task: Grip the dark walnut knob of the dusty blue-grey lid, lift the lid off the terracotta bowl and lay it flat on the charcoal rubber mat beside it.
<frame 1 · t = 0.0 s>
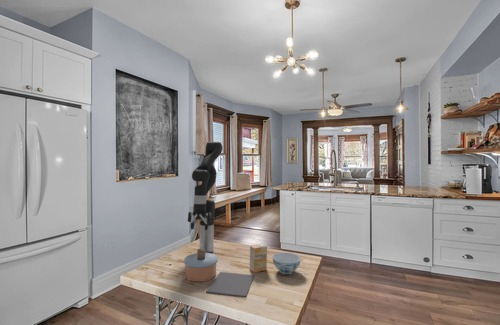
hand: (199, 229, 147), 17 cm above the table, tool pointing down, fingers open, 8 cm apart
chinaware: (286, 272, 129), on the table
lid: (201, 260, 124), point 7 cm above the table, touching bowl
mat: (231, 283, 115), on the table
supplement box: (258, 270, 131), on the table
bowl: (200, 274, 124), on the table
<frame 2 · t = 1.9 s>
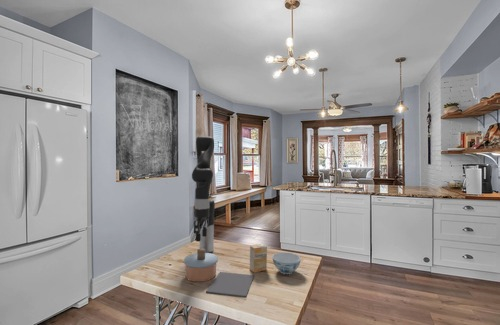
hand: (201, 238, 124), 18 cm above the table, tool pointing down, fingers open, 8 cm apart
nothing on the table moved.
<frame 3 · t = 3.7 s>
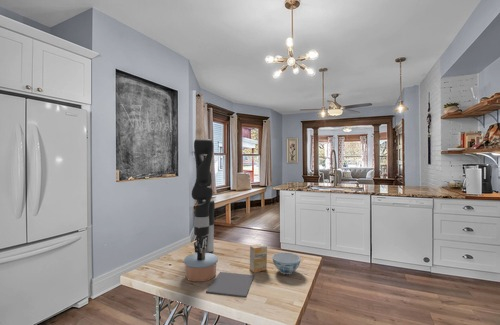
hand: (201, 258, 124), 8 cm above the table, tool pointing down, fingers closed on lid, 4 cm apart
lid: (201, 260, 124), point 7 cm above the table, touching bowl, gripper
everything else where it was.
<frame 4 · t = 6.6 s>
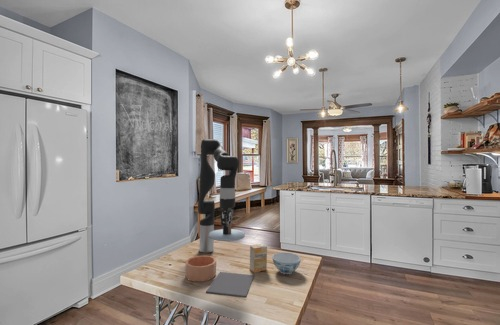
hand: (227, 232, 116), 24 cm above the table, tool pointing down, fingers closed on lid, 4 cm apart
lid: (227, 235, 116), point 23 cm above the table, touching gripper
everything else where it was.
when the fingers open (3 cm above the table, at t = 9.5 s): lid drops 1 cm, resting on mat.
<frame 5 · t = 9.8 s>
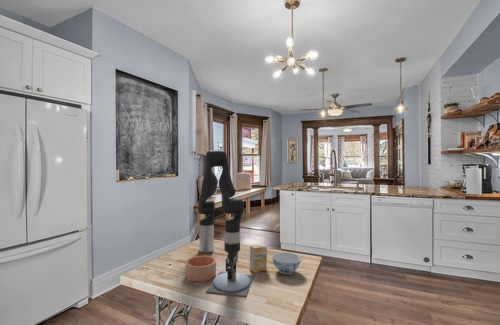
hand: (231, 275, 115), 4 cm above the table, tool pointing down, fingers open, 6 cm apart
lid: (231, 282, 115), point 1 cm above the table, touching mat
everything else where it was.
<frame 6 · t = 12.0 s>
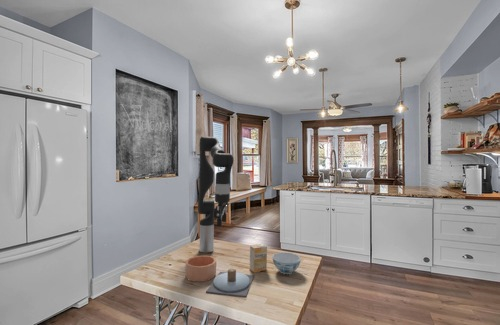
hand: (221, 223, 124), 26 cm above the table, tool pointing down, fingers open, 8 cm apart
nothing on the table moved.
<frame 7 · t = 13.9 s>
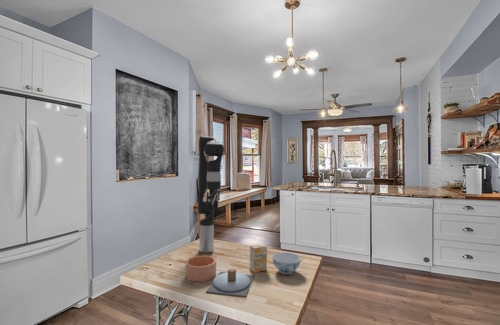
hand: (213, 210, 130), 32 cm above the table, tool pointing down, fingers open, 8 cm apart
nothing on the table moved.
at the end: lid inside the target area on the mat (0.1 cm from its centre), point 0.6 cm above the mat's base; lid tilted 0°; lid touching mat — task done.
